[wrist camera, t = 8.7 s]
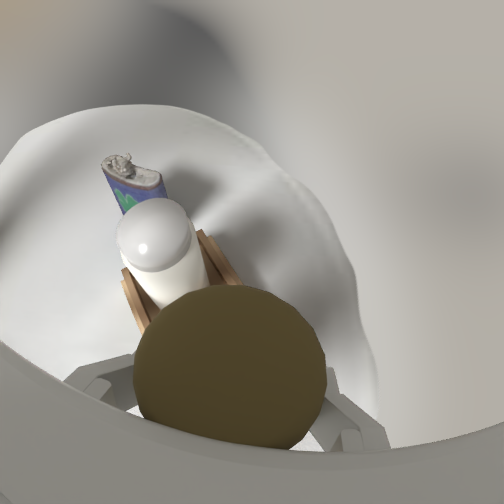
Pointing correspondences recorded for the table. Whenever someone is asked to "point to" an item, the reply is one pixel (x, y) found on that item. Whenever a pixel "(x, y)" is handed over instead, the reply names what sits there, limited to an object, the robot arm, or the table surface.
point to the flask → (132, 182)
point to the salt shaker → (161, 250)
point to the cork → (231, 368)
